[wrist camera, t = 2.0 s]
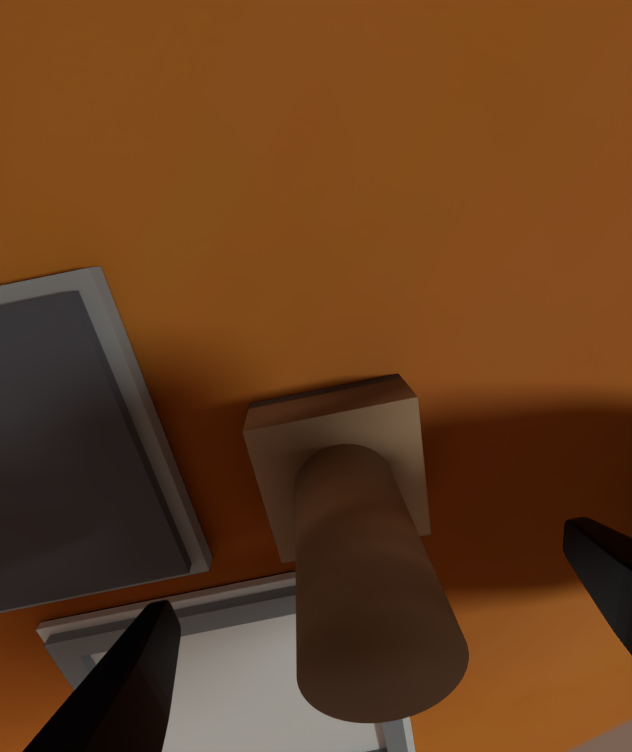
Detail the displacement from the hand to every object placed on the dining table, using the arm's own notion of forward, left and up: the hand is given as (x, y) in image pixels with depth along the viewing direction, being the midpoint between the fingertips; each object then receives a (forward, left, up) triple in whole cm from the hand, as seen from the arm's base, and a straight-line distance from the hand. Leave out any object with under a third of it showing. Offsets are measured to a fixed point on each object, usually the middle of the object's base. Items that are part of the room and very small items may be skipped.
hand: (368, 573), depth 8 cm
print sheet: (+6, +12, -5) cm, 14 cm away
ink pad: (+11, -2, -5) cm, 12 cm away
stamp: (0, 0, -5) cm, 5 cm away
